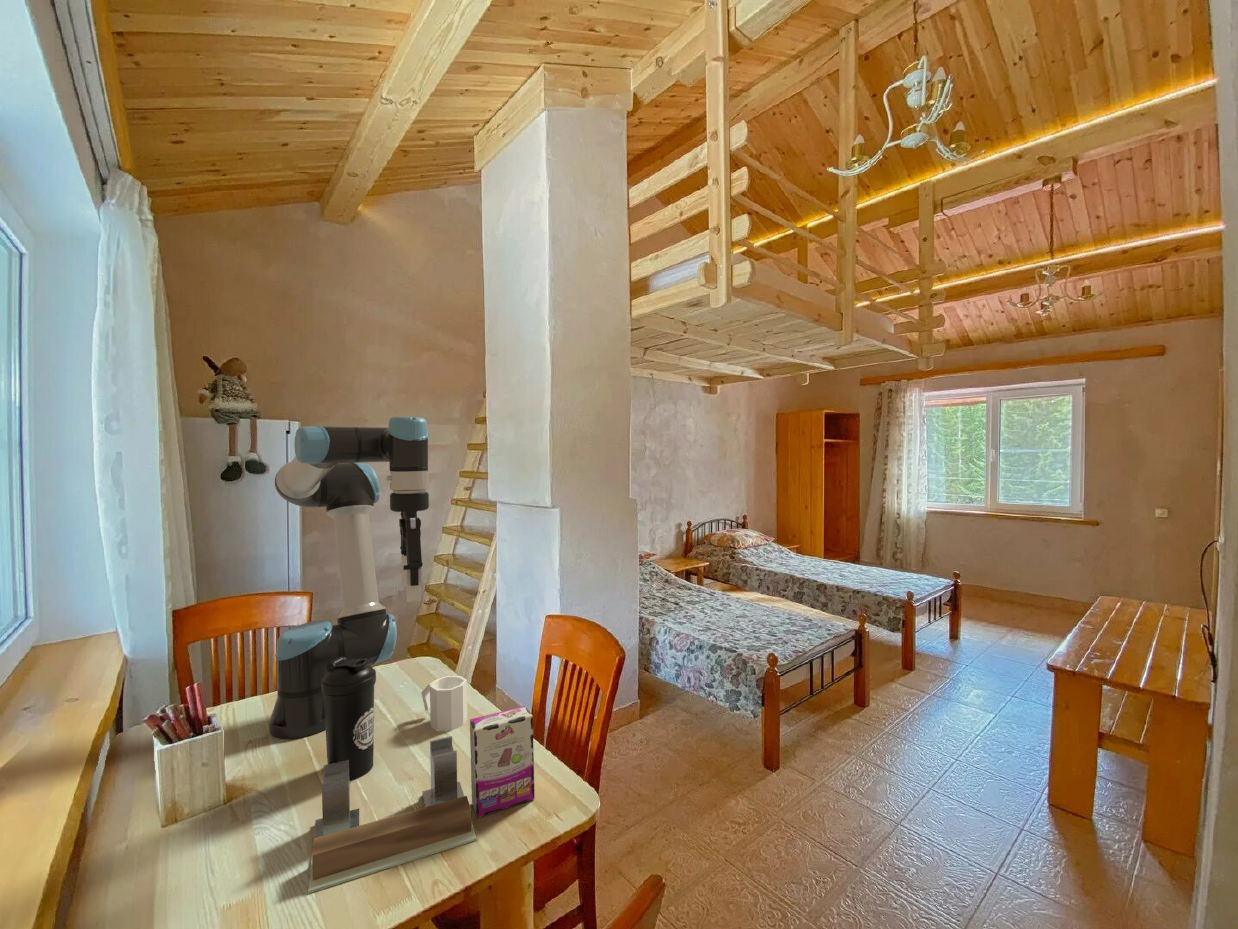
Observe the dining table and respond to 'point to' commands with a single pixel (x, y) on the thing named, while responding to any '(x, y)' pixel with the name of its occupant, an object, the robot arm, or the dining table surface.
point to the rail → (389, 837)
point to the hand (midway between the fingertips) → (411, 592)
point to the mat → (388, 862)
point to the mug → (446, 702)
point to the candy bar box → (502, 760)
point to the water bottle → (350, 713)
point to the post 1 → (336, 801)
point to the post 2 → (442, 773)
